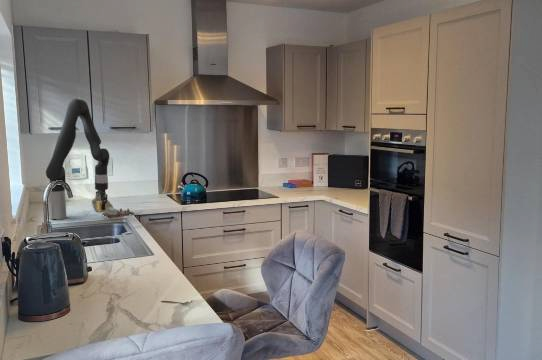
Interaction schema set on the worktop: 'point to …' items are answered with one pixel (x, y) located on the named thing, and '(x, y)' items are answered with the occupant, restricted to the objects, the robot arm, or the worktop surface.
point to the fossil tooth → (96, 204)
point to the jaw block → (100, 206)
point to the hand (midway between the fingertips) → (101, 209)
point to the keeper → (111, 211)
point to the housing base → (120, 213)
